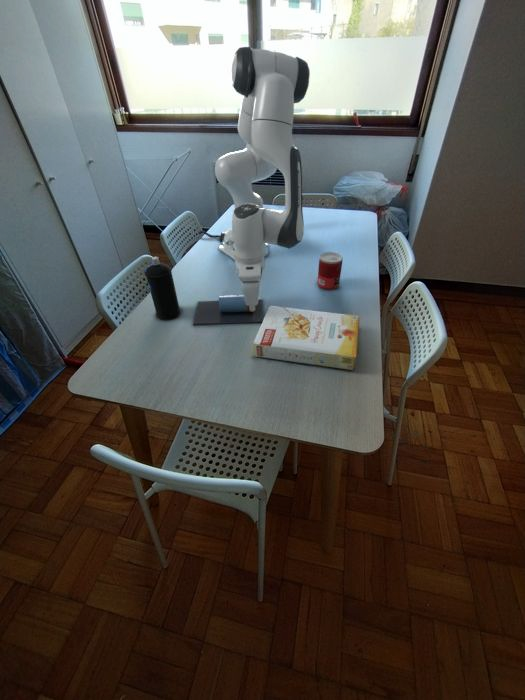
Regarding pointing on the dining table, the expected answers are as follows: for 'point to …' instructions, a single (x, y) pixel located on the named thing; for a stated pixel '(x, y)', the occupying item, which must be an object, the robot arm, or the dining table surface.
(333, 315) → the cereal box
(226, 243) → the robot arm
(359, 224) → the dining table surface
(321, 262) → the canned food
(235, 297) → the container
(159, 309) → the aerosol can
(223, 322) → the mat
